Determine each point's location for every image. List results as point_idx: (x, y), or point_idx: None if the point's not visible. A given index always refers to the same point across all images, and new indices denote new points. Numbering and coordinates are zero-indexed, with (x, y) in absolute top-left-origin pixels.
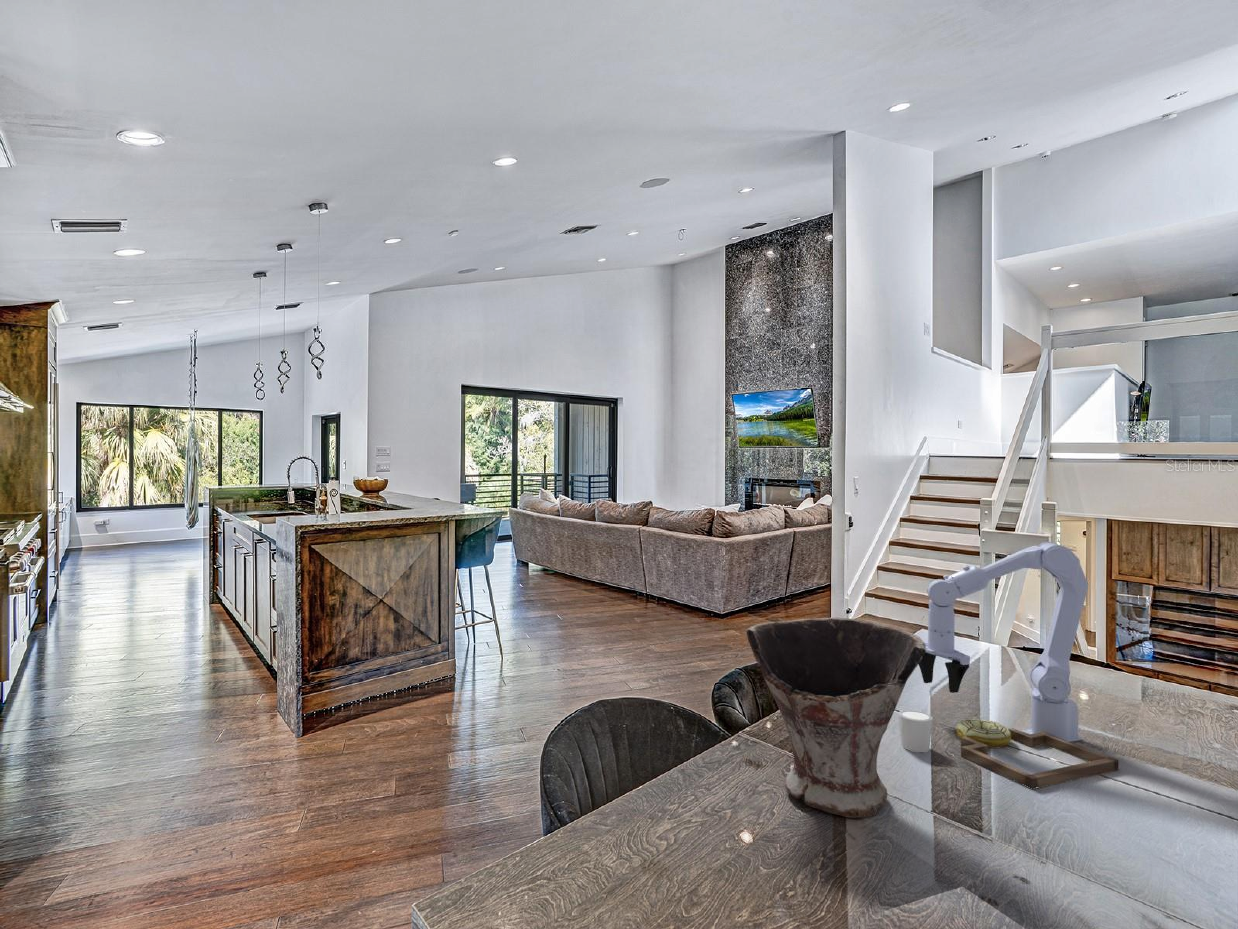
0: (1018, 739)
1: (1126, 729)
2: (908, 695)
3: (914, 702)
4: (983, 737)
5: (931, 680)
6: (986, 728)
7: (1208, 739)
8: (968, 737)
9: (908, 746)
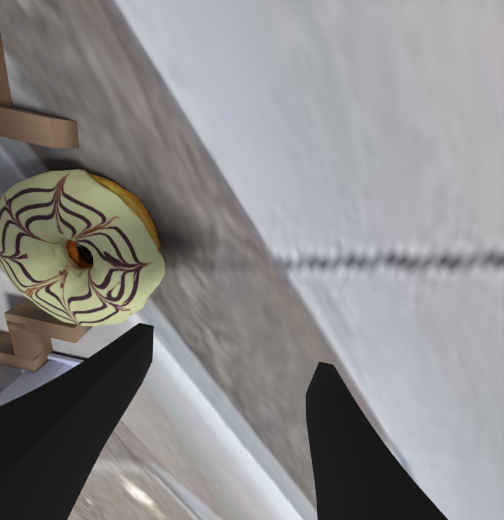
0: None
1: None
2: (439, 405)
3: (398, 369)
4: (15, 184)
5: (307, 402)
6: (79, 273)
7: None
8: (41, 145)
9: None
